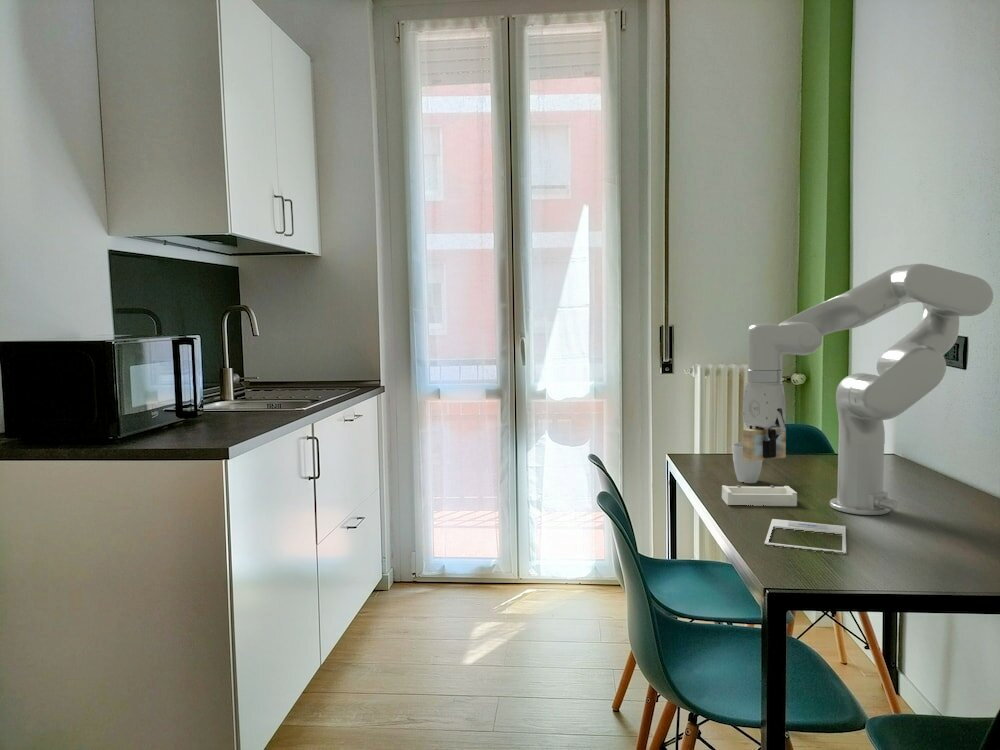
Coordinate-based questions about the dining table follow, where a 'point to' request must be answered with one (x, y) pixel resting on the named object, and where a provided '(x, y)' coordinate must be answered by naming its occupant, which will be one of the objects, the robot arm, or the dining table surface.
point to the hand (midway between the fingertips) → (764, 455)
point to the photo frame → (807, 527)
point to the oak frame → (760, 445)
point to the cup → (745, 466)
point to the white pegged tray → (759, 496)
